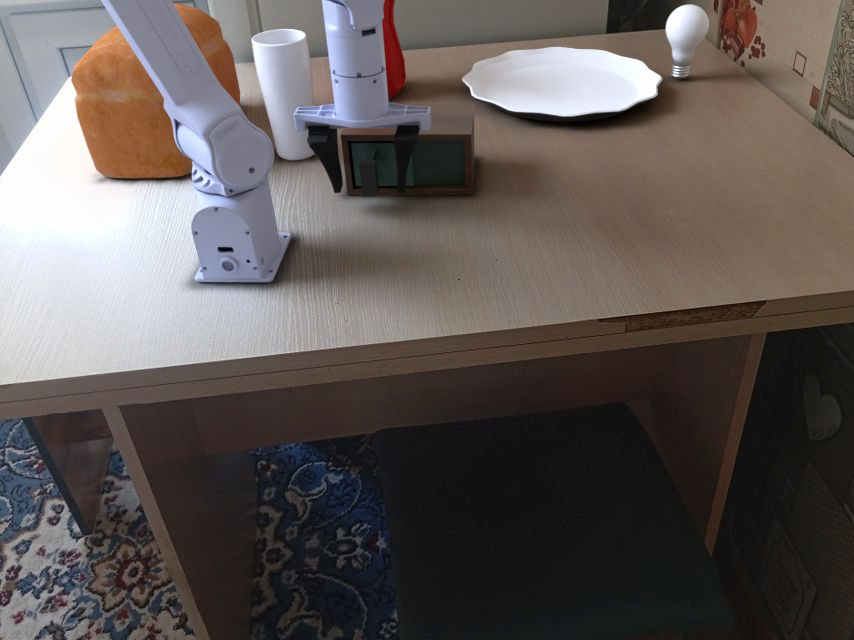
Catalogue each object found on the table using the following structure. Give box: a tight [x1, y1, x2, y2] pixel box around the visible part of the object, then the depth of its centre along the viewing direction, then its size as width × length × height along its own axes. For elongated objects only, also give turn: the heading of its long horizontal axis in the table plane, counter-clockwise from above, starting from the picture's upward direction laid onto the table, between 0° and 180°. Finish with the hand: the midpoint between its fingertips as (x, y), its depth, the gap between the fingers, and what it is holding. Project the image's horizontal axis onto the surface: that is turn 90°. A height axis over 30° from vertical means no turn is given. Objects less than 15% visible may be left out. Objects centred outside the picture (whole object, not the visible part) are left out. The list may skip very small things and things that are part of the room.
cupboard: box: [339, 101, 475, 196], centre depth 96 cm, size 10×15×8 cm, turn 88°
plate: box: [461, 46, 664, 123], centre depth 119 cm, size 29×29×2 cm
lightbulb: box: [665, 3, 710, 81], centre depth 120 cm, size 6×6×11 cm
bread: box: [70, 2, 241, 179], centre depth 104 cm, size 14×26×16 cm, turn 179°
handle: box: [351, 141, 415, 198], centre depth 90 cm, size 5×7×5 cm
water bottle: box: [382, 0, 407, 100], centre depth 113 cm, size 9×11×25 cm
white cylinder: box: [251, 28, 316, 161], centre depth 99 cm, size 7×7×15 cm
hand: (370, 189), depth 90 cm, fingers open, 7 cm apart
